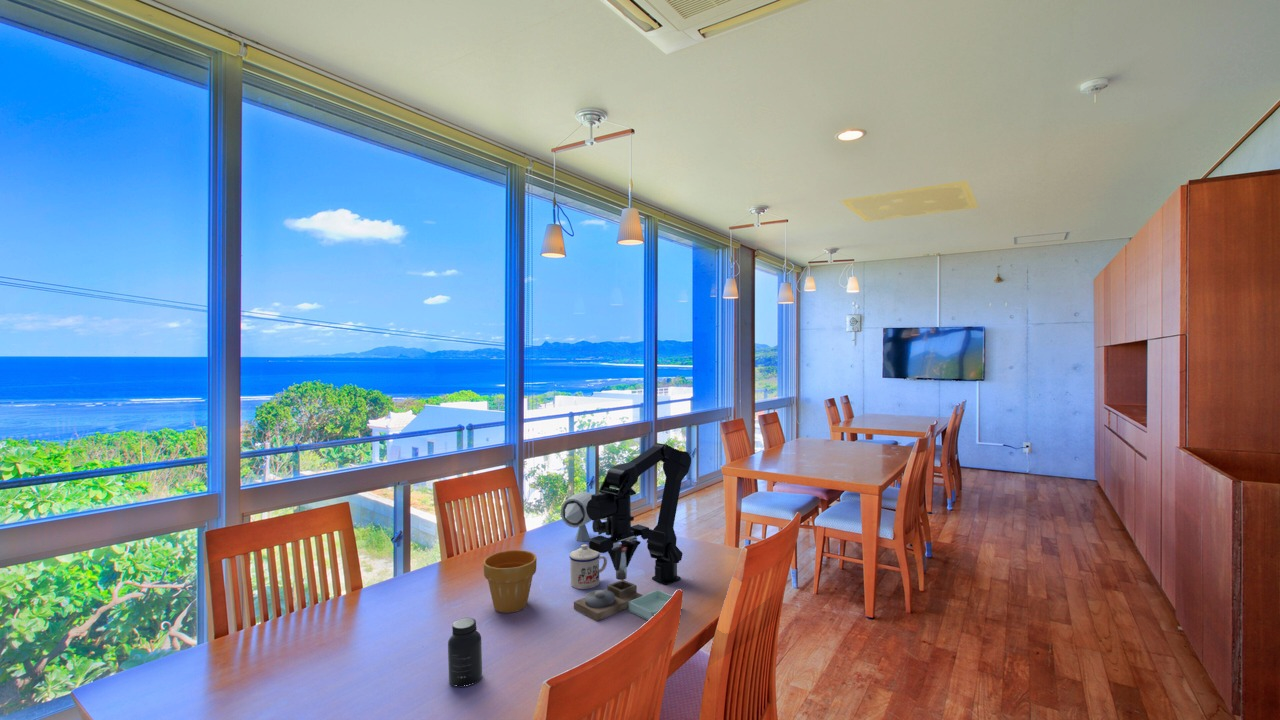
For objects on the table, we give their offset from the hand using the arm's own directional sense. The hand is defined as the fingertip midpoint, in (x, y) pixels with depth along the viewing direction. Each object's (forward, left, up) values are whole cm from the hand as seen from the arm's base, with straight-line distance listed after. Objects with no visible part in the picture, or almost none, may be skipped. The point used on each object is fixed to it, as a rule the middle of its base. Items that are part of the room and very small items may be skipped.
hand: (621, 568), depth 154 cm
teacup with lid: (-1, -16, -9) cm, 18 cm away
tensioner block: (+5, 0, -9) cm, 10 cm away
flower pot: (+24, -19, -9) cm, 32 cm away
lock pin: (0, 0, -2) cm, 2 cm away
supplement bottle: (+49, +5, -9) cm, 50 cm away
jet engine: (-22, -49, -9) cm, 55 cm away
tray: (-2, +11, -9) cm, 14 cm away
